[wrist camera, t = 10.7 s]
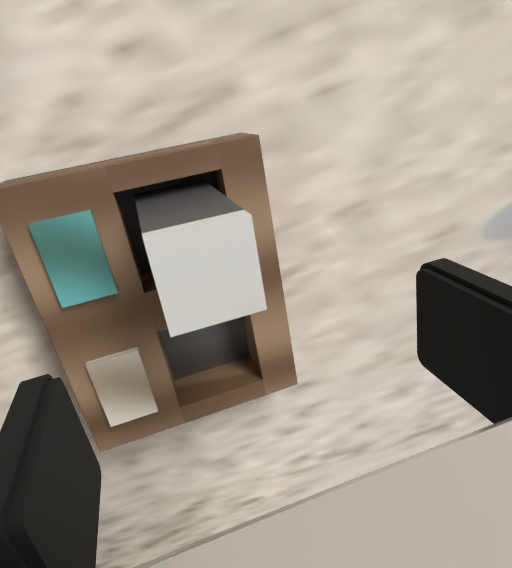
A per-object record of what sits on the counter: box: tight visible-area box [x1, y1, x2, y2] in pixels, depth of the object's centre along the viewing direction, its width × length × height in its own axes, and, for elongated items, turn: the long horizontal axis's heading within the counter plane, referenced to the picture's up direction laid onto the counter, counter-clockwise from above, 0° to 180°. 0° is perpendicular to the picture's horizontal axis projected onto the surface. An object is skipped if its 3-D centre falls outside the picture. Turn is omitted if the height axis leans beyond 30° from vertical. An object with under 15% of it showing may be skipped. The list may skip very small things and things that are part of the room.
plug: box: [134, 180, 267, 337], centre depth 20 cm, size 4×4×10 cm
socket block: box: [0, 133, 297, 452], centre depth 25 cm, size 16×13×4 cm
